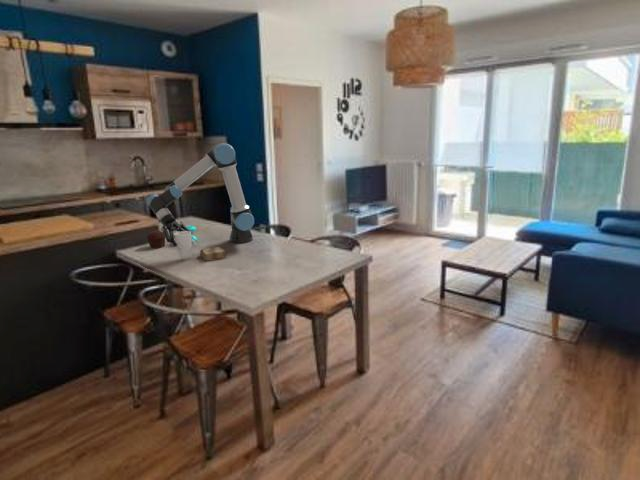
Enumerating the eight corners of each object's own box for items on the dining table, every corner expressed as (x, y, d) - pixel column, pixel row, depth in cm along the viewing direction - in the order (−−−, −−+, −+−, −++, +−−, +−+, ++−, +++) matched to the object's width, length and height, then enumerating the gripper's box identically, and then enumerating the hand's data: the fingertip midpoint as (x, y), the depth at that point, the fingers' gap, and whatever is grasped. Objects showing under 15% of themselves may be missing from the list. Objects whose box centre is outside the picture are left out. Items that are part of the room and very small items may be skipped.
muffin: (154, 250, 255) (152, 234, 252) (144, 247, 261) (142, 232, 258) (170, 245, 264) (169, 230, 261) (161, 243, 270) (159, 228, 268)
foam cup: (188, 257, 230) (185, 235, 226) (173, 257, 232) (170, 235, 228) (196, 252, 239) (194, 231, 235) (182, 252, 241) (179, 230, 237)
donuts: (177, 226, 271) (192, 224, 277) (179, 241, 274) (194, 238, 279) (182, 229, 263) (197, 227, 269) (184, 244, 266) (199, 242, 271)
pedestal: (220, 252, 247) (220, 246, 246) (226, 257, 237) (225, 251, 236) (200, 255, 242) (199, 249, 241) (205, 261, 231) (204, 254, 230)
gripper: (179, 217, 247) (200, 246, 243) (147, 225, 229) (169, 256, 225) (184, 209, 243) (205, 238, 239) (151, 217, 225) (174, 248, 221)
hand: (187, 247), depth 232 cm, fingers closed on foam cup, 9 cm apart
